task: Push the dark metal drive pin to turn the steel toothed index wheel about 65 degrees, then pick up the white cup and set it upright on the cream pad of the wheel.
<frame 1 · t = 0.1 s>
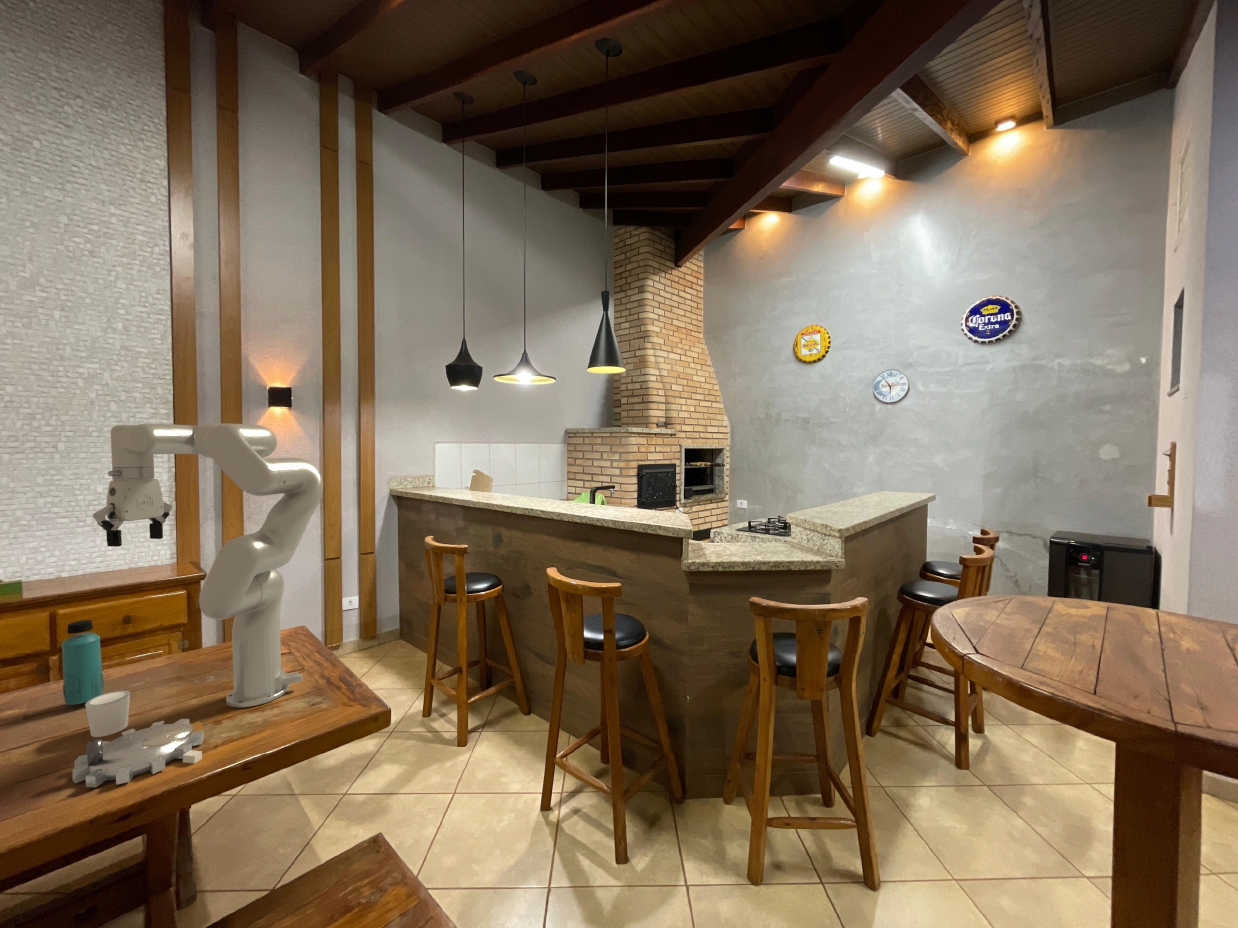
hand: (136, 542, 125), 37 cm above the table, tool pointing down, fingers open, 9 cm apart
index wheel: (142, 739, 98), point 3 cm above the table, hinge at 0.0°
white cup: (109, 730, 108), on the table
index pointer: (192, 760, 97), on the table
beverage bottle: (84, 705, 118), on the table
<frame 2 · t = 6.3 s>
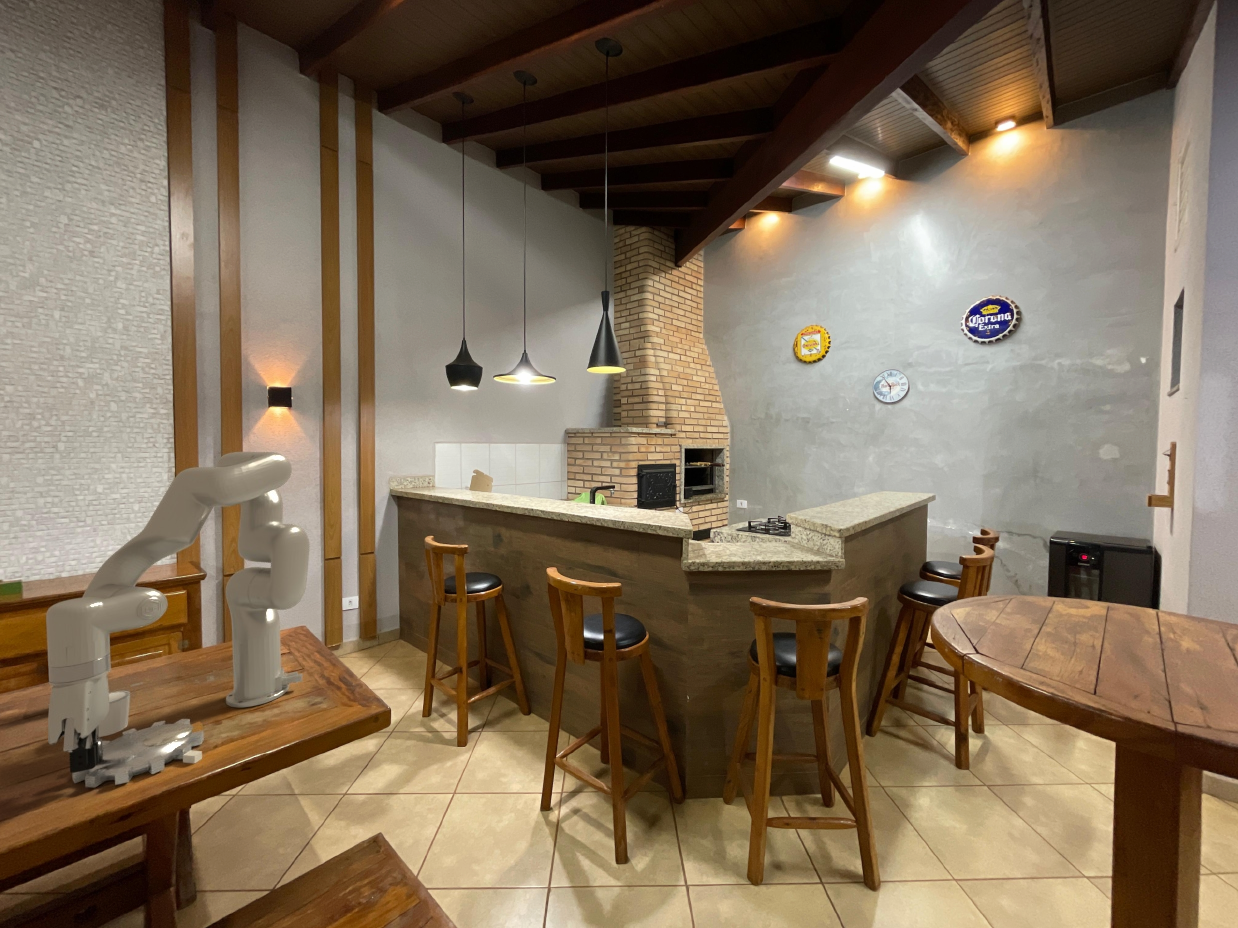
hand: (84, 767, 90), 3 cm above the table, tool pointing down, fingers closed
index wheel: (142, 739, 98), point 3 cm above the table, hinge at -0.9°, touching gripper
everything else where it was.
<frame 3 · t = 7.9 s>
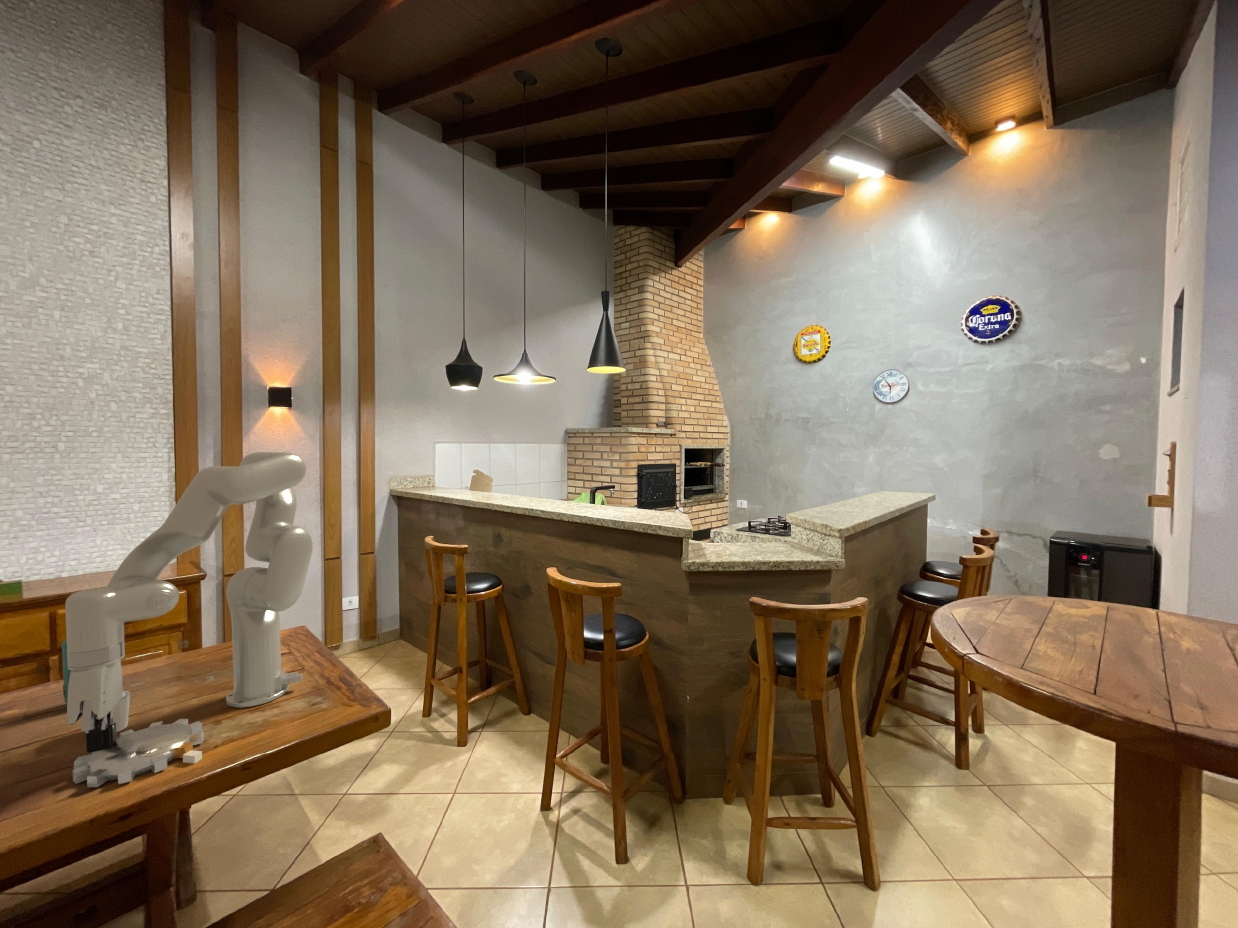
hand: (100, 748, 95), 4 cm above the table, tool pointing down, fingers closed
index wheel: (142, 739, 98), point 3 cm above the table, hinge at -58.3°, touching gripper
everything else where it was.
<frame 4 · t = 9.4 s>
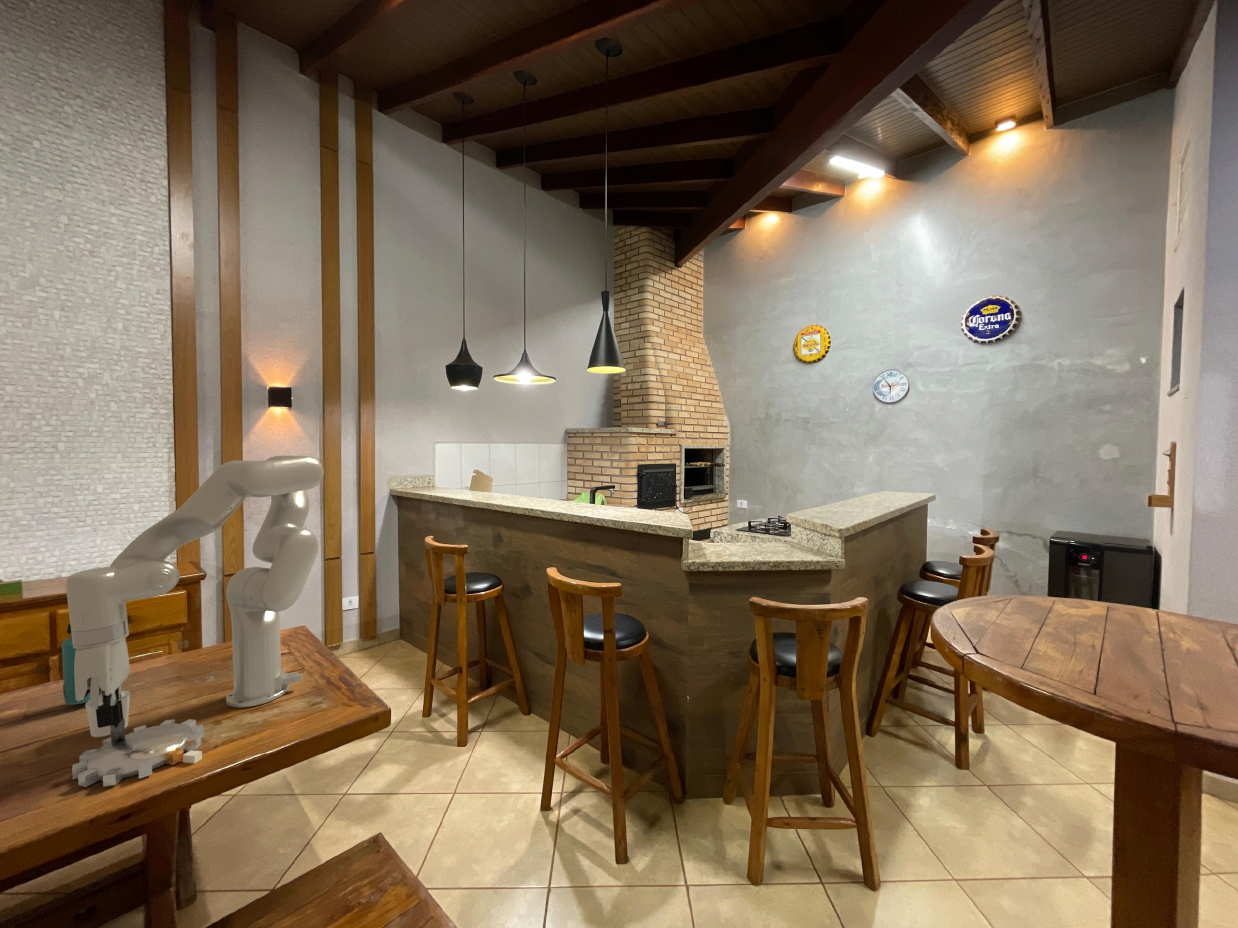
hand: (110, 723, 97), 7 cm above the table, tool pointing down, fingers closed
index wheel: (142, 739, 98), point 3 cm above the table, hinge at -71.4°
everything else where it was.
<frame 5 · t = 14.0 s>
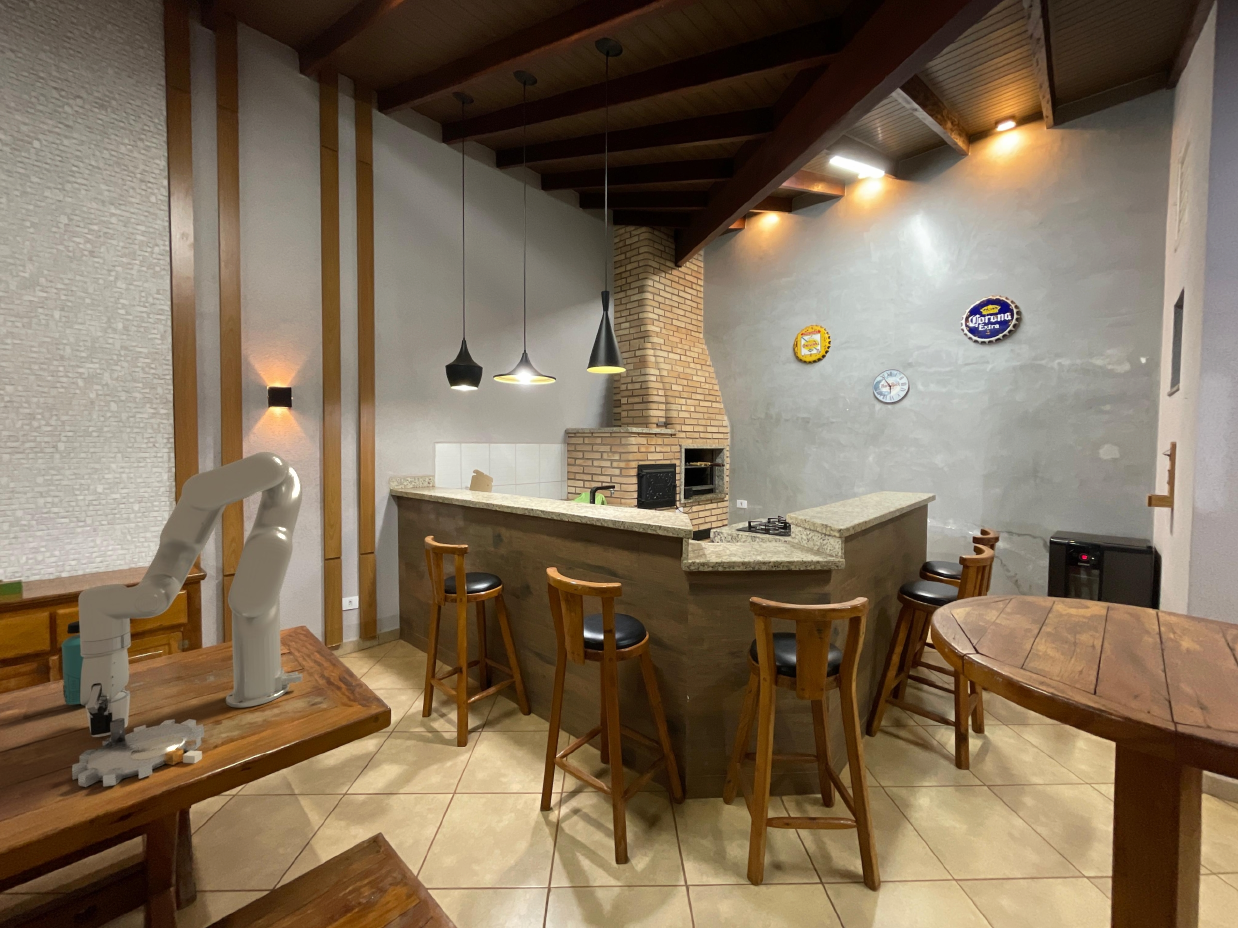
hand: (109, 724, 108), 1 cm above the table, tool pointing down, fingers closed on white cup, 6 cm apart
white cup: (109, 730, 108), on the table, touching gripper
everything else where it was.
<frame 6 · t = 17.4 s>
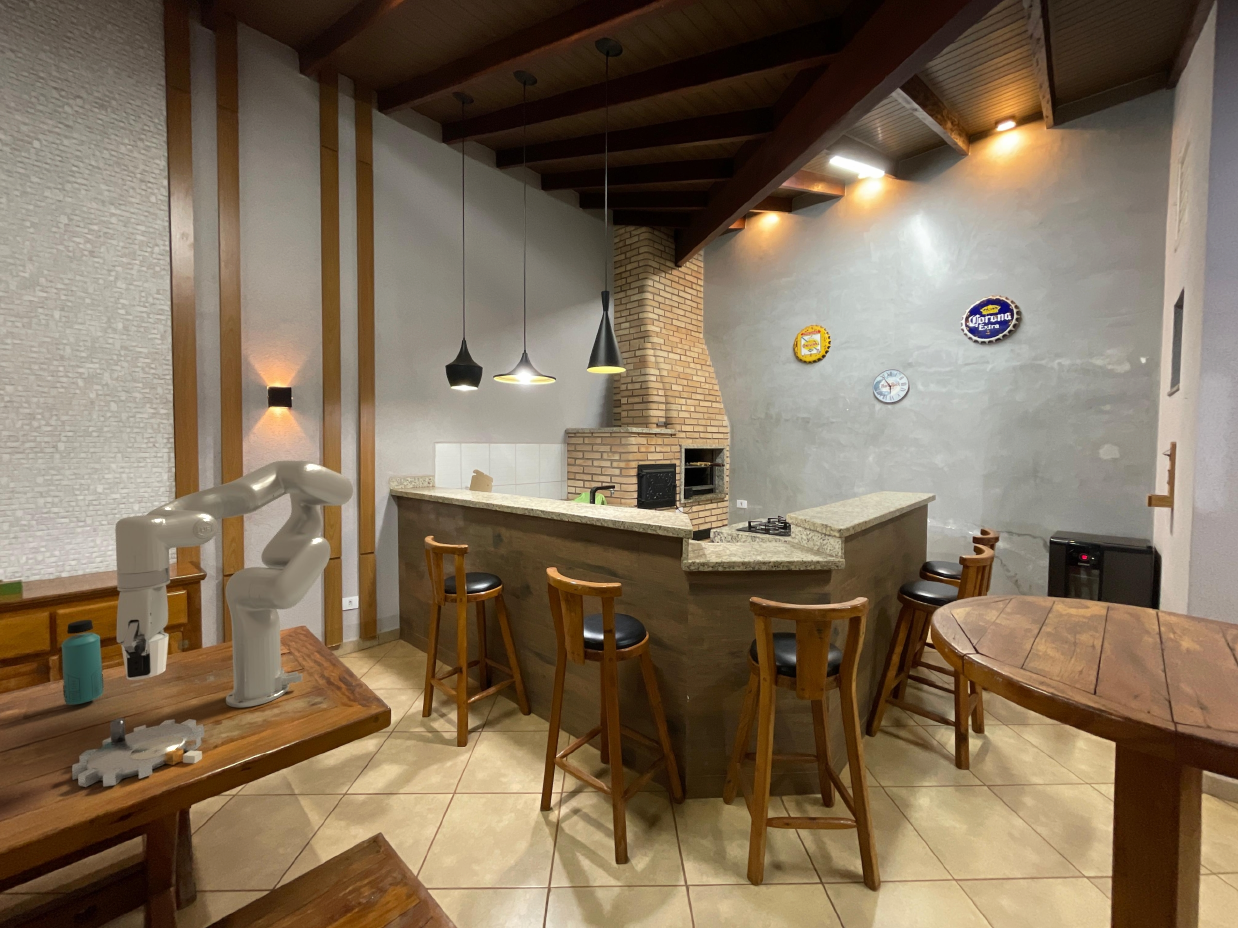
hand: (147, 667, 98), 18 cm above the table, tool pointing down, fingers closed on white cup, 6 cm apart
white cup: (146, 674, 98), point 16 cm above the table, touching gripper
everything else where it was.
when the fingers open (5 cm above the table, at t = 20.7 s): white cup drops 1 cm, resting on index wheel.
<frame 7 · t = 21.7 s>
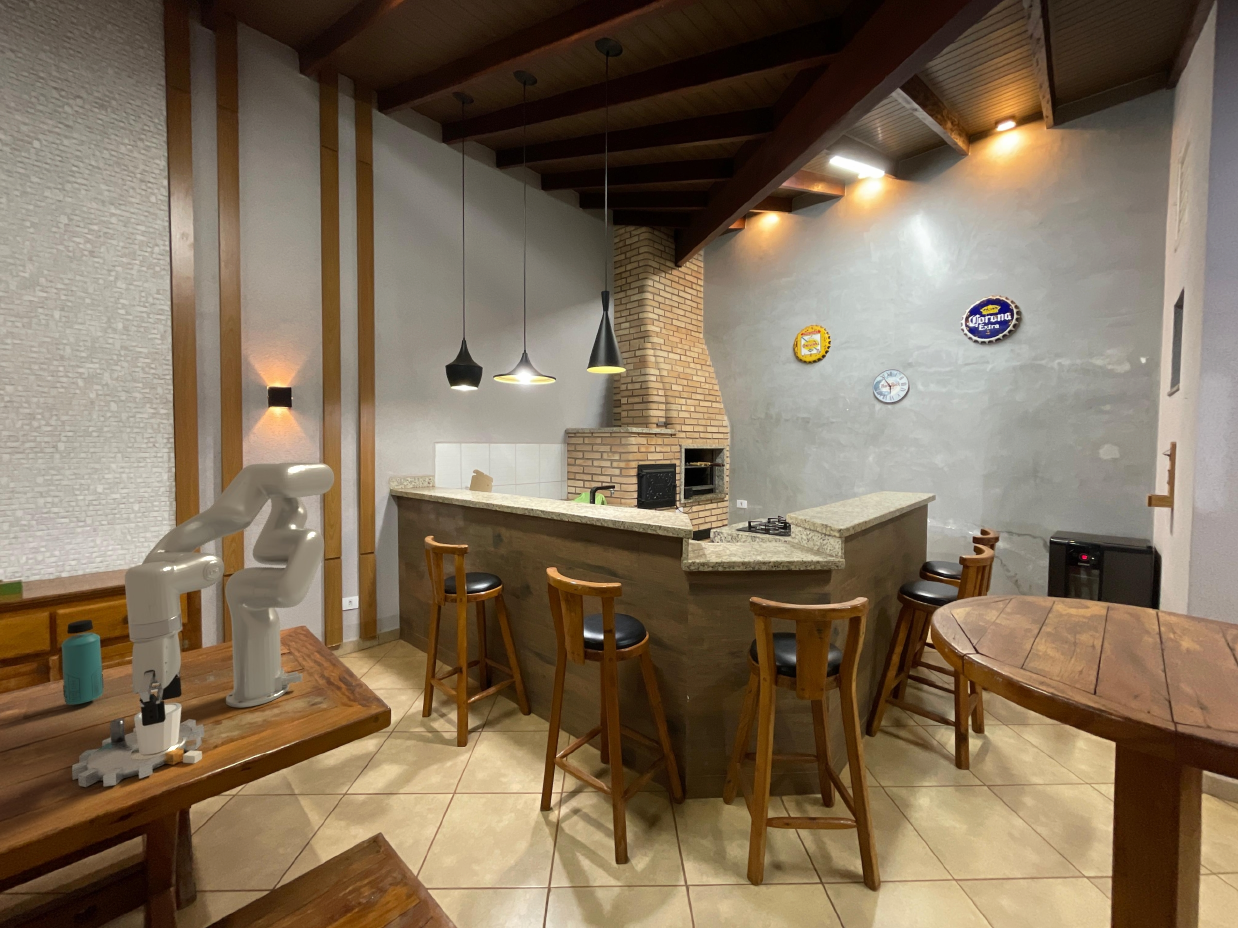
hand: (163, 709, 98), 9 cm above the table, tool pointing down, fingers open, 9 cm apart
index wheel: (142, 739, 98), point 3 cm above the table, hinge at -71.2°, touching white cup
white cup: (158, 747, 97), point 3 cm above the table, touching index wheel
everything else where it was.
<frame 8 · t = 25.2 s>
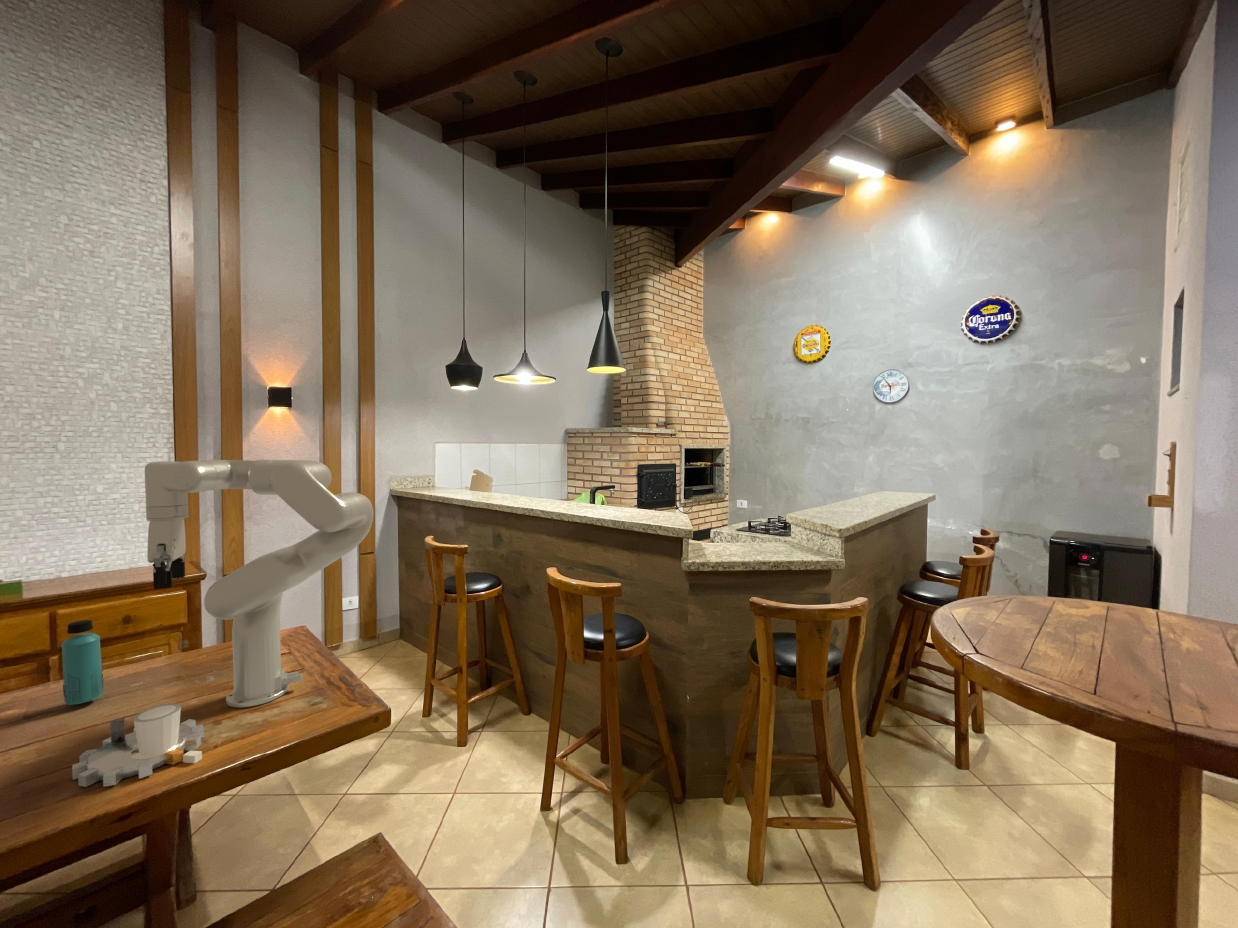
hand: (170, 583, 120), 28 cm above the table, tool pointing down, fingers open, 9 cm apart
nothing on the table moved.
at the end: index wheel at -71° (first picture: +0°); white cup 0.3 cm from the target spot on the index wheel, point 2.4 cm above the index wheel's base; white cup tilted 0° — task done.
